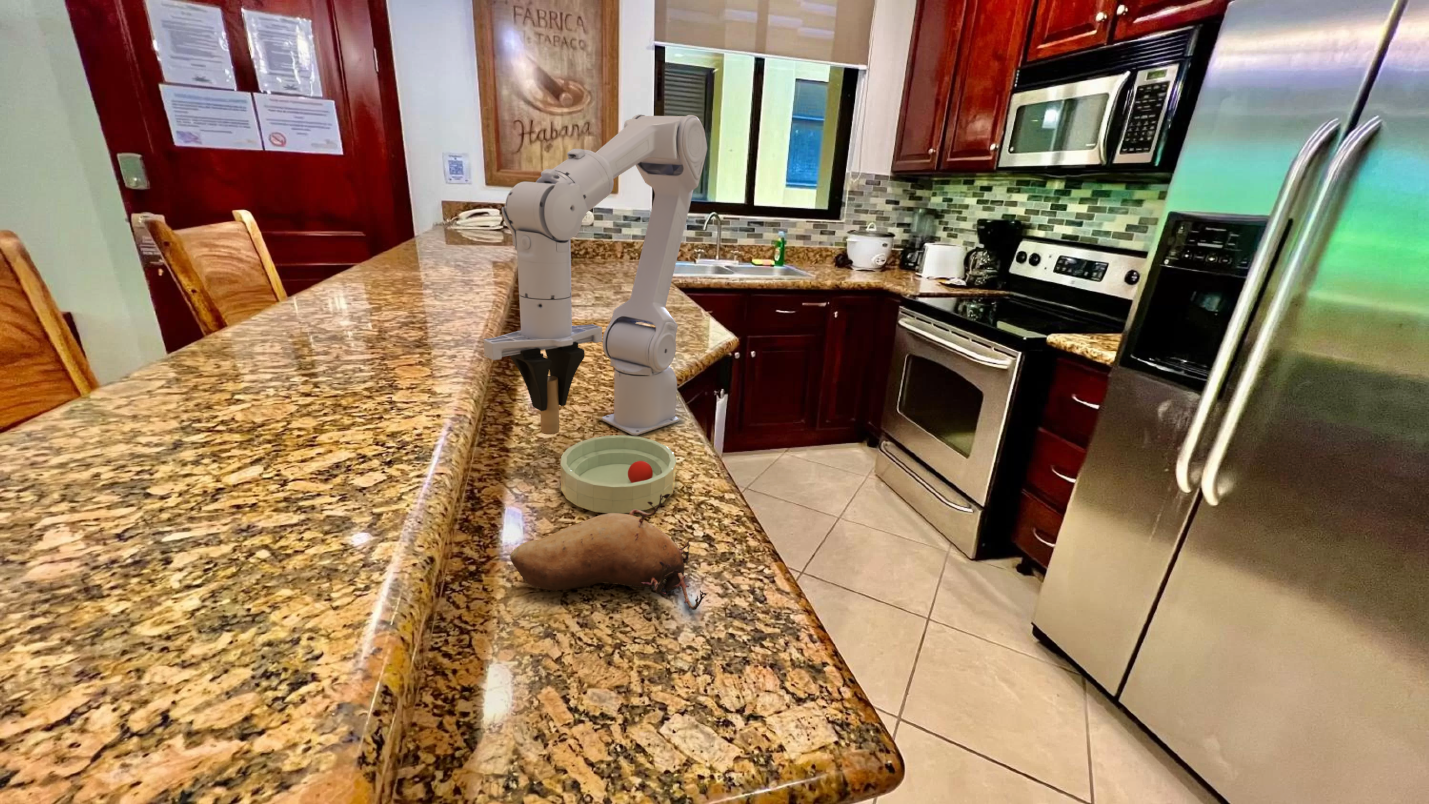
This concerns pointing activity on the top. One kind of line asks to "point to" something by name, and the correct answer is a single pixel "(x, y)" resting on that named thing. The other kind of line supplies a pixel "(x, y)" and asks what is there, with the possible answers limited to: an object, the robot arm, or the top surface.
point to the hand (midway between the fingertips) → (549, 405)
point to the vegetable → (605, 555)
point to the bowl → (616, 473)
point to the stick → (551, 408)
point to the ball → (639, 471)
